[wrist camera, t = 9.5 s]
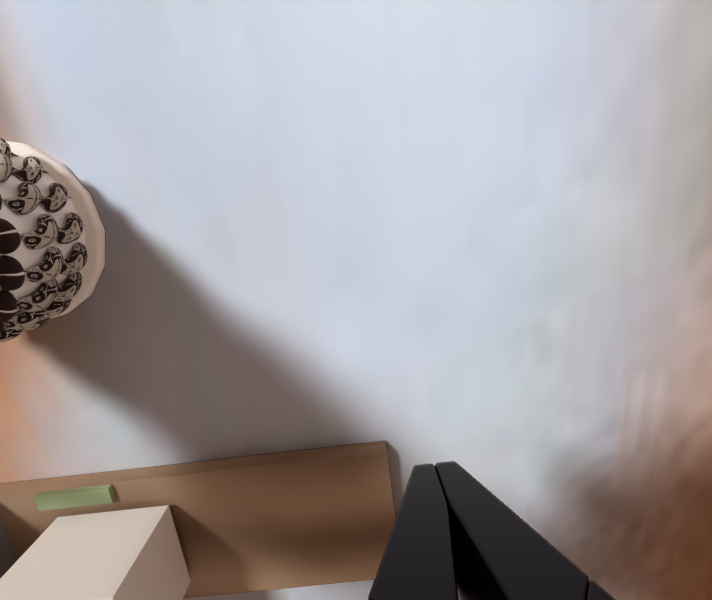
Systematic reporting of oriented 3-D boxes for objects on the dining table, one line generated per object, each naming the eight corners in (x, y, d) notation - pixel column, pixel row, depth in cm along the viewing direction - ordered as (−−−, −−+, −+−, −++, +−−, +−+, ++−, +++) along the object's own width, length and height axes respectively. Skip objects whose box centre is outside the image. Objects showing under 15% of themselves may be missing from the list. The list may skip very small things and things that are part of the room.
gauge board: (401, 569, 24) (419, 718, 17) (8, 608, 25) (-125, 764, 18) (385, 440, 22) (398, 553, 15) (-45, 488, 23) (-218, 614, 16)
